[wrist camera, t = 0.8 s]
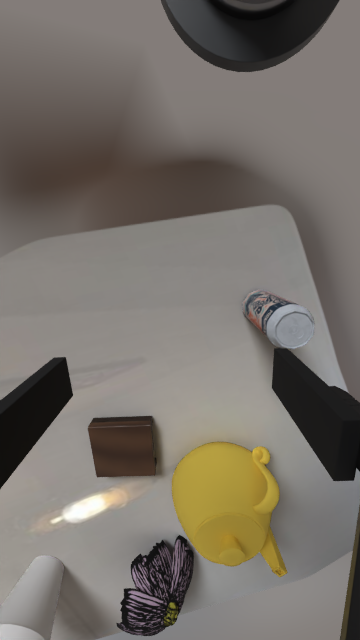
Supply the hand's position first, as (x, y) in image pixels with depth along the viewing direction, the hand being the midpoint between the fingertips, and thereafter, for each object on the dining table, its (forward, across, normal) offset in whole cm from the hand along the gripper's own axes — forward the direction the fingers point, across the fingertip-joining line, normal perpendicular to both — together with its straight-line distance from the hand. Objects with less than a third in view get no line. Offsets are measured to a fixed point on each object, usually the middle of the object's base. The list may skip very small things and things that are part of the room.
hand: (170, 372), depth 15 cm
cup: (+21, -30, -55) cm, 66 cm away
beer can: (+21, +12, -1) cm, 24 cm away
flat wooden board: (+21, -10, -24) cm, 33 cm away
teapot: (+21, +8, -32) cm, 39 cm away
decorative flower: (+21, -6, -52) cm, 56 cm away
